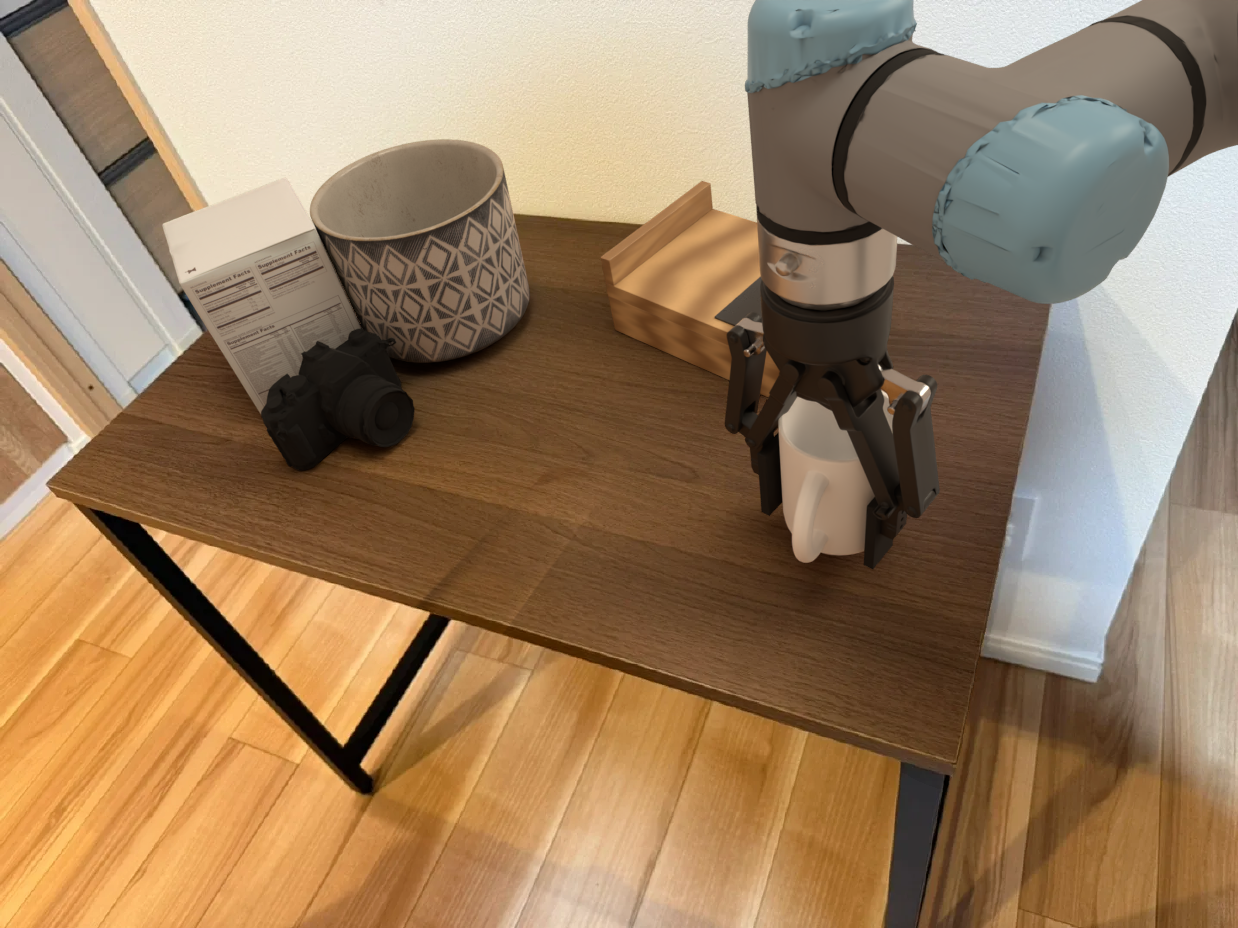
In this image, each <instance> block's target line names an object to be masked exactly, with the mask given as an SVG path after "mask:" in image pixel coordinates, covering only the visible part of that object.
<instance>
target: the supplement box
mask: <svg viewBox="0 0 1238 928" xmlns="http://www.w3.org/2000/svg"><path fill="white" fill-rule="evenodd" d="M161 227H162V229H163V230H162V231H163V233H164V236H165V240H166V242H167V246H168V249H169V250H168V251H169V254H170V257H171V259H172V263H173V266H174V269H175V272H176V273H175V274H176V276H177V280H178V283H179V285H180V287H181V288H182V291H183V292H184V294H185V295H186V297H187V298H188V300H189V302H190V303H191V305H192V306H193V308H194V310H195V311H196V313H197V314H198V317H199V318H200V320H201V321H202V323H203V324H204V326H205V328H206V329H207V331H208V332H209V334H210V336H211V337H212V339H213V340H214V342H215V343H216V345H217V346H218V348H219V350H220V351H221V353H222V355H223V356H224V358H225V360H226V361H227V362H228V364H229V366H230V368H231V369H232V371H233V372H234V374H235V375H236V377H237V379H238V381H239V383H240V384H241V385H242V386H243V389H244V390H245V391H246V393H247V395H248V396H249V398H250V400H251V401H252V403H253V405H254V406H255V408H256V410H257V411H258V412H259V415H261V411H262V409H263V408H264V406H265V405H266V402H267V395H268V392H269V389H270V388H271V386H272V385H273V384H274V383H276V382H277V381H278V380H279V379H280V378H281V377H283V376H284V375H286V374H287V373H288V375H289V376H290V377H292V376H296V375H299V370H300V366H301V363H302V359H303V357H302V355H301V353H303V352H304V351H305V352H307V351H308V350H309V349H311V348H312V347H313V346H314V345H315V344H316V342H317V341H319V342H322V343H324V344H326V345H328V346H329V347H330V348H333V349H336V348H337V347H338V346H339V345H341V344H343V343H344V342H345V341H347V340H348V336H349V334H350V332H351V331H353V330H355V329H360V328H362V327H361V325H360V322H359V320H358V318H357V316H356V314H355V312H354V310H353V307H352V305H351V303H350V301H349V299H348V297H347V295H346V292H345V290H344V288H343V286H342V284H341V282H340V280H339V277H338V275H337V273H336V271H335V269H334V267H333V264H332V262H331V260H330V258H329V256H328V254H327V252H326V249H325V247H324V245H323V243H322V241H321V239H320V237H319V234H318V232H317V230H316V228H315V226H314V224H313V222H312V219H311V217H310V214H309V213H308V212H307V210H306V208H305V206H304V205H303V203H302V201H301V199H300V198H299V196H298V195H297V192H296V191H295V189H294V188H293V186H292V184H291V182H290V181H289V180H288V178H287V177H282V178H280V179H277V180H274V181H271V182H268V183H266V184H264V185H263V184H262V185H261V186H258V187H256V188H253V189H250V190H248V191H244V192H243V193H240V194H237V195H234V196H232V197H229V198H227V199H224V200H221V201H218V202H216V203H213V204H211V205H208V206H205V207H202V208H200V209H198V210H194V211H192V212H189V213H187V214H183V215H182V216H179V217H176V218H174V219H171V220H169V221H166V222H163V223H162V226H161Z"/></svg>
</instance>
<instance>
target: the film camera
mask: <svg viewBox="0 0 1238 928" xmlns="http://www.w3.org/2000/svg"><path fill="white" fill-rule="evenodd" d="M391 342H393V343H392V344H391V345H389V343H391ZM394 344H396V341H395V339H394V338H389V339H387V340H381V338H380V337H379V335H377V334H374V333H371V332H367V331H366V330H364V329H363V328H362V327H361V328H360V329H355V330H353V331H351V332H350V334H349V336H348V340H347V341H345V342H344V343H343V344H341V345H339V346H338V347H337V348H336V349H333V348H330V347H329V346H328V345H326V344H324V343H322V342H319V341H317V342H316V344H315V345H314V346H313V347H312V348H311V349H309V350H308V351H307V352H305V351H304V352H303V353H301V355H302V357H303V359H302V363H301V366H300V370H299V375H296V376H292V377H290V376H289V375H288V373H287V374H286V375H284V376H283V377H281V378H280V379H279V380H278V381H277V382H276V383H274V384H273V385H272V386H271V388H270V389H269V392H268V395H267V402H266V405H265V406H264V408H263V409H262V411H261V414H260V417H261V419H262V422H263V425H264V427H265V428H266V432H267V434H268V436H269V437H270V438H271V440H272V442H273V444H274V445H275V447H276V449H277V450H278V452H279V453H280V454H281V456H282V457H283V459H284V461H285V463H286V464H287V466H288V467H289V468H291V467H292V468H293V469H294V470H296V471H308V470H310V469H312V468H314V467H315V466H317V465H318V464H319V463H320V462H321V461H323V460H324V459H325V458H326V457H327V456H328V455H330V453H332V451H334V450H335V449H336V448H338V446H339V445H340V444H342V443H343V442H344V441H345V440H346V439H348V438H349V439H356V440H360V441H362V442H364V443H365V444H367V445H370V446H375V447H376V446H377V447H380V448H388V447H392V446H396V445H397V444H398V443H401V441H402V440H404V438H405V437H407V435H408V434H409V433H410V431H411V428H412V426H413V424H414V421H415V420H414V419H415V414H416V413H415V411H416V410H415V406H414V399H412V397H410V395H409V394H408V393H407V392H406V391H405V390H404V389H403V387H402V382H401V380H400V378H399V375H398V373H397V371H396V369H395V367H394V364H393V362H392V360H391V357H389V355H388V353H387V351H386V348H387V347H389V346H393V345H394Z"/></svg>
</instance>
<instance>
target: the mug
mask: <svg viewBox="0 0 1238 928" xmlns="http://www.w3.org/2000/svg"><path fill="white" fill-rule="evenodd" d="M881 391H882V393H883V396H884V405H883V411H884V413H885V416H886V418H887V421H888V423H889V426H890V428H891V431H892V420H893V415H891V414H889V413H888V411H887V408H888V407H889V406H890V404H889V398H888V395H887V394H886V392H885V391H883V390H882V389H881ZM777 430H778V432H779V447H780V465H781V483H782V501H783V502H782V512H783V517H784V522H785V524H786V527H787V529H788V530H789V532H790V533H791V546H792V552H793V554H794V557H795V558H796V560H798V561H799V562H801V563H803V564H804V563H805V564H808V563H811V562H814V561H815V560H816V559H817V558H818V557H819V555H820V554H821V553H822V554H824V555H830V556H850V555H851V556H852V555H855V554H859V553H864V548H865V530H866V512H867V505H868V504H869V503H870V502H871V500H872V499H873V498H874V497H875V496H874V493H873V491H872V489H871V486H870V484H869V482H868V479H867V477H866V475H865V472H864V470H863V468H862V465H861V463H860V461H859V458H858V456H857V453H856V451H855V449H854V446H853V444H852V442H851V439H850V437H849V435H848V432H847V431H846V430H841V429H840V428H839V426H838V424H837V421H836V419H835V417H834V414H833V412H832V411H831V410H828V409H827V408H825V407H823V406H822V405H820V404H819V403H817V402H813V401H808V400H804V399H802V398H800V397H797V398H796V400H795V401H794V403H793V405H792V406H791V408H790V409H789V411H788V412H787V413H785V414H784V415H782V416H781V417H780V418H779V420H778V429H777ZM892 433H893V432H892Z"/></svg>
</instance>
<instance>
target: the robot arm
mask: <svg viewBox="0 0 1238 928" xmlns="http://www.w3.org/2000/svg"><path fill="white" fill-rule="evenodd" d="M748 13H749V14H748V16H747V74H746V75H747V76H746V77H747V79H746V80H745V81H744V91H745V92H746V94H747V106H748V107H747V108H748V120H749V135H750V148H751V149H750V150H751V161H752V173H753V174H752V175H753V186H754V187H753V188H754V202H755V207H756V222H757V231H758V250H759V269H760V275H761V279H762V281H761V285H760V293H761V311H762V318H761V317H760V315H759V314H757V313H755V312H750V313H749V314H748V315H746V316H745V317H744V318H743V319H742V320H741V321H740V322H739V323H737V324H736V325H735V326H734V327H733V328H732V329H731V330H730V331H728V332H727V334H726V335H727V341H728V345H729V349H730V353H731V357H732V360H731V369H730V378H729V380H728V389H727V398H726V407H725V416H724V423H723V424H724V427H725V429H726V430H727V432H729V433H730V434H732V435H737V434H738V433H739V434H741V436H743V437H744V442H745V444H746V446H748V448H749V455H750V467H751V469H752V473H754V474H756V475H757V476H758V485H759V495H760V496H759V498H760V509H761V510H760V511H761V514H764V515H765V516H768V517H770V516H771V515H772V514H773V513H774V512H775V511H776V510H777V509H778V508H779V507H780V505H782V504H783V501H782V483H781V465H780V447H779V431H778V432H777V433H776V434H775V432H776V431H777V430H779V429H778V420H779V418H780V417H781V416H782V415H784V414H785V413H787V412H788V411H789V409H790V408H791V406H792V405H793V403H794V401H795V400H796V398H797V397H800V398H802V399H804V400H808V401H813V402H817V403H819V404H820V405H822V406H823V407H825V408H827V409H828V410H831V411H832V412H833V414H834V417H835V419H836V421H837V424H838V426H839V428H840V429H841V430H846V431H847V432H848V435H849V437H850V439H851V442H852V444H853V446H854V449H855V451H856V453H857V456H858V458H859V461H860V463H861V465H862V468H863V470H864V472H865V475H866V477H867V479H868V482H869V484H870V486H871V489H872V491H873V493H874V496H875V497H874V498H873V499H872V500H871V502H870V503H869V504H868V505H867V512H866V530H865V548H864V551H863V566H865V567H866V568H868V569H871V570H872V571H873V570H874V569H875V568H876V566H877V565H878V564H879V563H880V562H881V560H882V559H884V557H885V556H886V554H887V553H888V552H889V551H890V549H891V548H893V546H894V539H895V538H896V537H897V536H898V535H899V533H900V532H902V530H903V528H904V527H905V526H906V525H907V521H908V516H909V517H910V518H913V519H920V517H921V516H922V515H923V514H924V513H925V511H926V510H927V509H928V508H929V507H930V505H931V504H932V503H933V501H934V500H935V499H936V498H937V496H938V495H939V494H940V490H941V489H940V480H939V472H938V463H937V454H936V453H937V452H936V445H935V435H934V427H933V426H934V425H933V416H932V409H931V407H932V404H933V401H934V398H935V396H936V392H937V390H938V382H937V380H936V379H935V378H934V377H933V376H932V375H929V374H921V375H920V376H919V377H918V378H917V379H916V380H915V379H913V378H911V377H909V376H906V375H905V374H903V373H901V372H899V371H898V370H895V369H894V363H893V360H892V358H891V356H890V354H889V351H888V342H889V338H890V333H891V329H892V321H893V308H894V307H893V306H894V292H895V291H894V290H895V278H894V273H895V270H896V268H897V250H898V238H899V239H901V240H903V241H904V242H906V243H908V244H910V245H912V246H914V247H916V248H917V249H919V250H920V251H922V252H924V253H926V254H927V255H930V256H931V257H934V258H936V259H938V260H939V261H941V262H943V263H944V264H945V265H946V266H949V267H951V268H952V270H953V271H954V272H956V273H958V274H960V275H961V276H963V277H965V278H967V279H969V280H971V281H973V280H978V281H979V282H982V283H984V284H985V283H988V284H990V285H992V286H994V287H996V288H999V289H1002V290H1003V291H1006V292H1008V293H1010V294H1013V295H1015V296H1017V297H1020V298H1022V299H1024V300H1026V301H1029V302H1032V303H1037V304H1041V305H1047V304H1048V305H1054V304H1061V303H1066V302H1069V301H1072V300H1075V299H1078V298H1079V297H1082V296H1084V295H1086V294H1087V293H1089V292H1091V291H1092V290H1093V289H1095V288H1097V287H1098V286H1099V285H1101V284H1102V283H1103V282H1105V281H1106V279H1108V277H1109V276H1110V274H1111V272H1112V270H1113V268H1114V267H1115V265H1116V264H1117V263H1118V262H1119V261H1122V260H1125V259H1127V258H1128V257H1129V256H1130V255H1131V253H1132V252H1133V251H1134V250H1135V248H1136V247H1137V245H1138V244H1139V243H1140V242H1141V240H1142V238H1143V237H1144V235H1145V233H1146V232H1147V230H1148V229H1149V227H1150V225H1151V223H1152V222H1153V219H1154V218H1155V216H1156V213H1157V211H1158V209H1159V206H1160V203H1161V201H1162V198H1163V195H1164V192H1165V190H1166V186H1167V183H1168V178H1169V177H1171V176H1172V175H1174V174H1176V173H1177V172H1179V171H1181V170H1183V169H1185V168H1187V167H1188V166H1190V165H1192V164H1193V163H1195V162H1198V161H1199V160H1201V159H1202V158H1204V157H1206V156H1208V155H1211V154H1213V153H1216V152H1219V151H1222V150H1225V149H1228V148H1232V147H1235V146H1238V0H1139V1H1138V2H1135V3H1134V4H1132V5H1129V6H1128V7H1126V8H1124V9H1122V10H1119V11H1118V12H1116V13H1114V14H1112V15H1110V16H1108V17H1105V18H1104V19H1102V20H1101V19H1100V20H1098V21H1095V22H1093V23H1091V24H1090V25H1088V26H1086V27H1084V28H1082V29H1080V30H1078V31H1076V32H1074V33H1072V34H1070V35H1067V36H1066V37H1063V38H1061V39H1059V40H1057V41H1055V42H1053V43H1050V44H1048V45H1046V46H1045V47H1043V48H1040V49H1038V50H1036V51H1034V52H1032V53H1029V54H1027V55H1025V56H1023V57H1022V58H1020V59H1018V60H1017V59H1016V61H1014V62H1011V63H1010V64H1009V63H1008V64H1007V65H1005V66H1001V67H987V66H984V65H980V64H977V63H975V62H971V61H968V60H965V59H961V58H958V57H955V56H952V55H949V54H945V53H941V52H938V51H936V50H935V49H932V48H930V47H927V46H923V45H920V44H917V43H915V42H913V37H914V33H915V32H916V31H917V30H916V28H917V25H918V22H917V21H916V19H915V11H914V0H754V1H753V3H752V6H751V7H750V10H749V12H748ZM766 352H768V353H769V355H770V357H771V358H772V360H773V361H774V363H775V364H776V366H777V368H778V369H779V371H780V372H779V376H778V378H777V380H776V381H775V383H774V385H773V387H772V388H771V390H770V392H769V394H770V395H769V397H767V399H766V400H765V403H764V404H763V406H762V407H761V409H760V411H759V410H758V409H759V405H760V403H759V402H760V396H761V394H760V391H761V385H762V378H763V372H764V365H765V359H766ZM881 390H882V391H883V392H885V393H886V394H887V395H888V398H889V404H890V406H889V407H888V408H887V411H888V413H889V414H891V415H893V420H892V431H891V428H890V426H889V423H888V421H887V418H886V416H885V413H884V411H883V405H884V396H883V393H882V391H881ZM758 411H759V412H758ZM757 413H758V414H757ZM892 432H893V433H892Z"/></svg>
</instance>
